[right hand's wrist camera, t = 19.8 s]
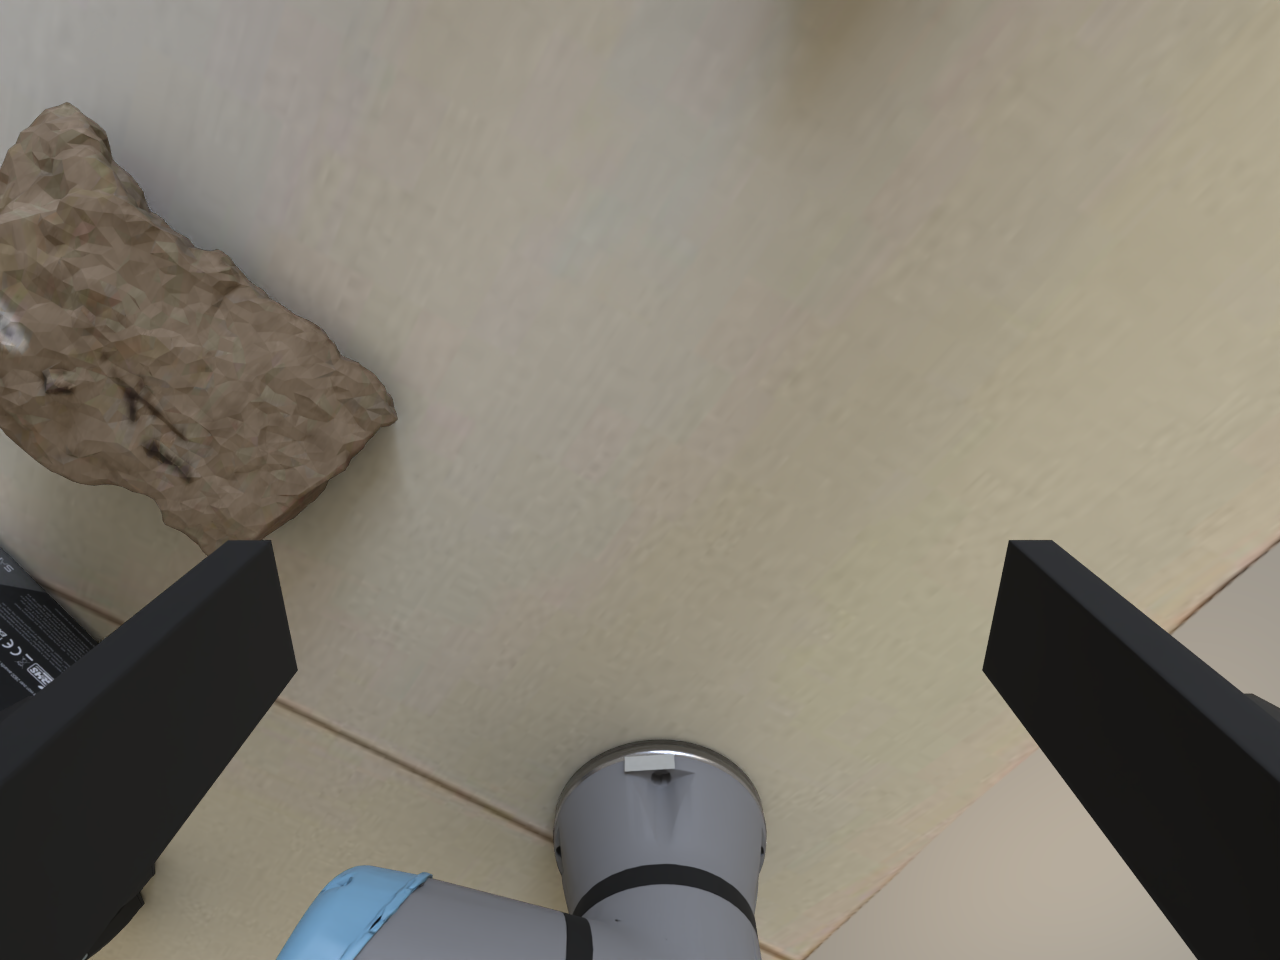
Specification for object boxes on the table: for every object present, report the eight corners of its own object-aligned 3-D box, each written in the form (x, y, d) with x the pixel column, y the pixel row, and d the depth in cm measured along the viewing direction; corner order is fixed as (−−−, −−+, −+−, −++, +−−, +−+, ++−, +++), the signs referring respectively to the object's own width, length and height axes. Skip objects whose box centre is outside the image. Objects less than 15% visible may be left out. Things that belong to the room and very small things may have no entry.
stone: (-116, 315, 36) (-214, 328, 30) (82, 101, 35) (20, 76, 30) (252, 557, 45) (228, 602, 39) (415, 388, 44) (413, 410, 39)
